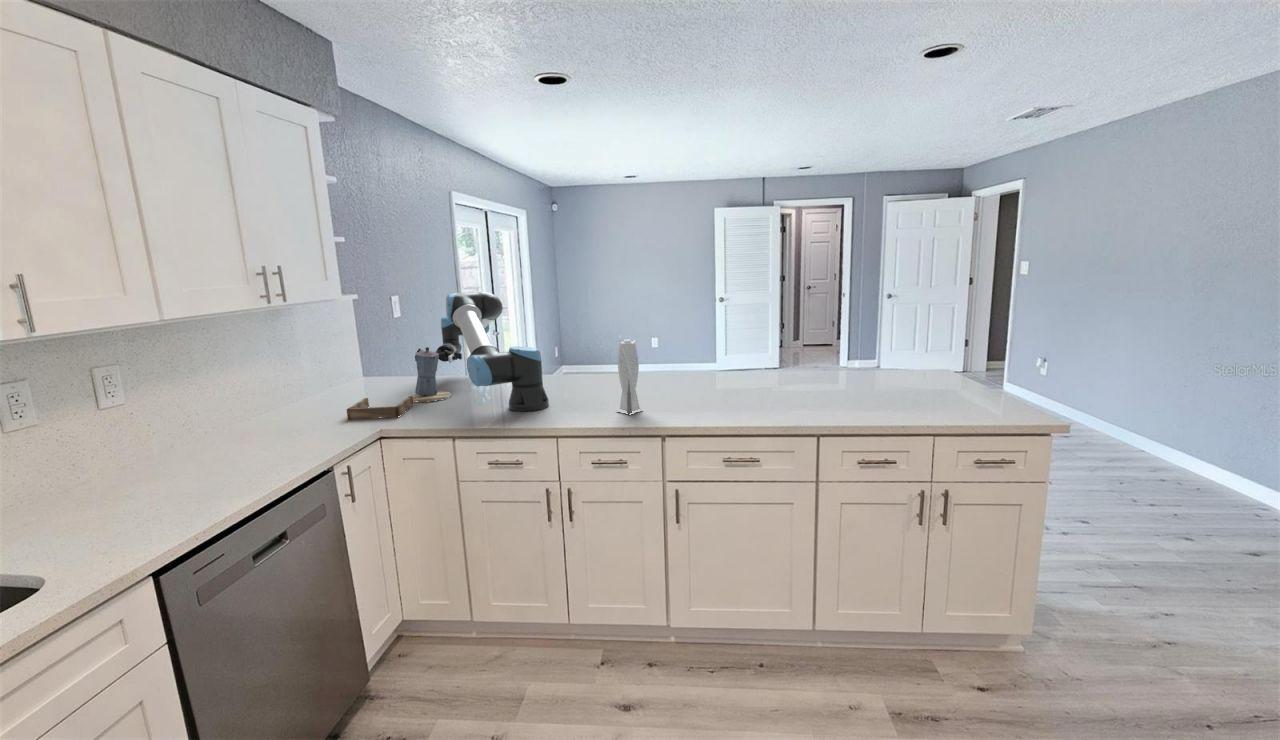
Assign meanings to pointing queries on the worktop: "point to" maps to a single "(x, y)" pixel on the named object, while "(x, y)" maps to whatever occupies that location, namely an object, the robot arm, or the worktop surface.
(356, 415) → the frame
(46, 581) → the worktop surface
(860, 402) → the worktop surface
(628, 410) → the skyscraper
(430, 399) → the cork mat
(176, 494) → the worktop surface
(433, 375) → the moka pot
